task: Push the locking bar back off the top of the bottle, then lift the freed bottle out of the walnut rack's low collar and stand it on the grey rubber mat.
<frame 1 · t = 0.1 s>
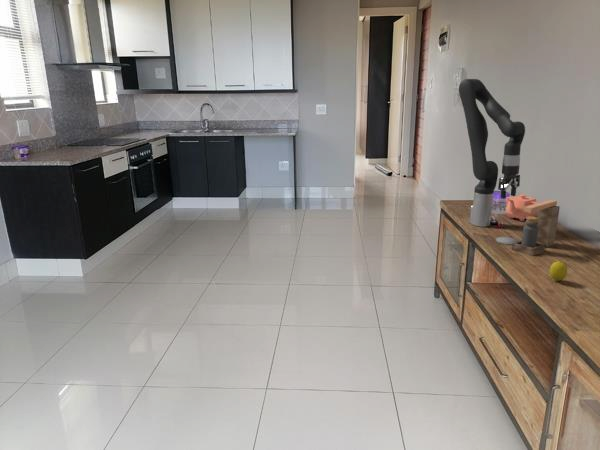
hand: (508, 197, 217), 17 cm above the sideboard, tool pointing down, fingers open, 8 cm apart
mat: (507, 241, 206), on the sideboard
lemon: (556, 281, 163), on the sideboard
locking bar: (540, 206, 192), point 19 cm above the sideboard, slide at 0.0 cm
rack: (527, 250, 194), on the sideboard
teapot: (519, 218, 242), on the sideboard
bottle: (527, 250, 194), resting in rack
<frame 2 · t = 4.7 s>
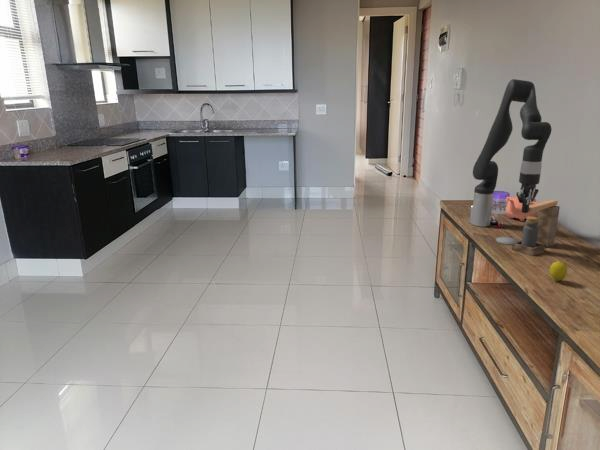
hand: (524, 212, 186), 18 cm above the sideboard, tool pointing down, fingers closed
locking bar: (541, 205, 192), point 19 cm above the sideboard, slide at 0.5 cm, touching gripper
everything else where it was.
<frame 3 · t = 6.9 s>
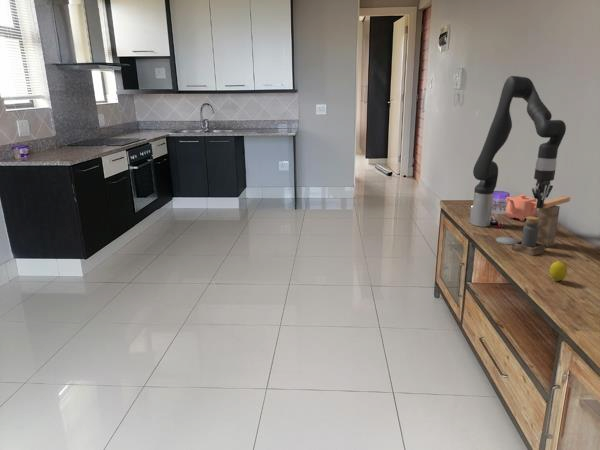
hand: (539, 208, 192), 18 cm above the sideboard, tool pointing down, fingers closed
locking bar: (554, 202, 198), point 19 cm above the sideboard, slide at 11.7 cm, touching gripper
everything else where it was.
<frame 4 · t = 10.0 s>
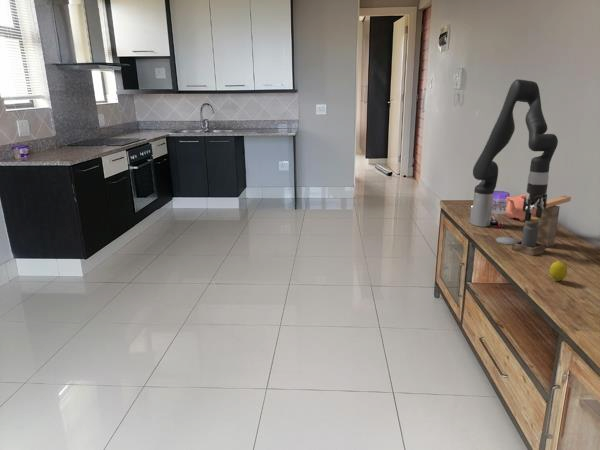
hand: (532, 219, 190), 14 cm above the sideboard, tool pointing down, fingers open, 8 cm apart
locking bar: (555, 201, 198), point 19 cm above the sideboard, slide at 12.3 cm
everything else where it was.
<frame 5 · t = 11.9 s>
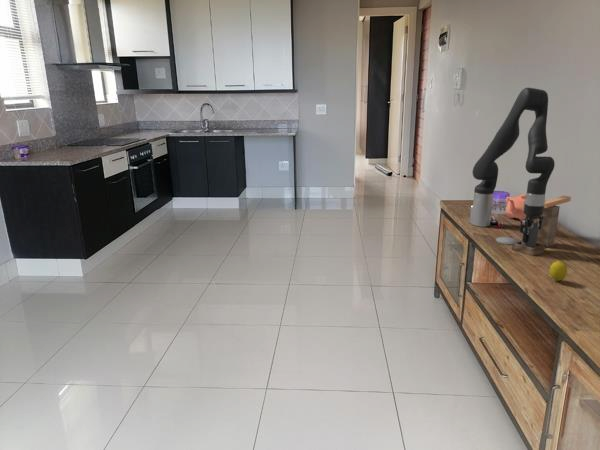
hand: (529, 240, 193), 5 cm above the sideboard, tool pointing down, fingers closed on bottle, 6 cm apart
bottle: (527, 250, 194), resting in rack, touching gripper
everything else where it was.
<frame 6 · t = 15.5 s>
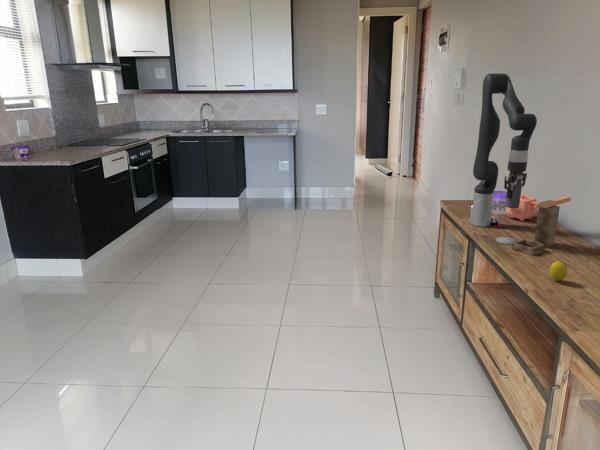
hand: (513, 197, 200), 21 cm above the sideboard, tool pointing down, fingers closed on bottle, 6 cm apart
bottle: (511, 207, 201), point 17 cm above the sideboard, touching gripper
everything else where it was.
when the fingers open (6 cm above the sideboard, at t = 19.3 s): bottle stays where it is, resting on mat.
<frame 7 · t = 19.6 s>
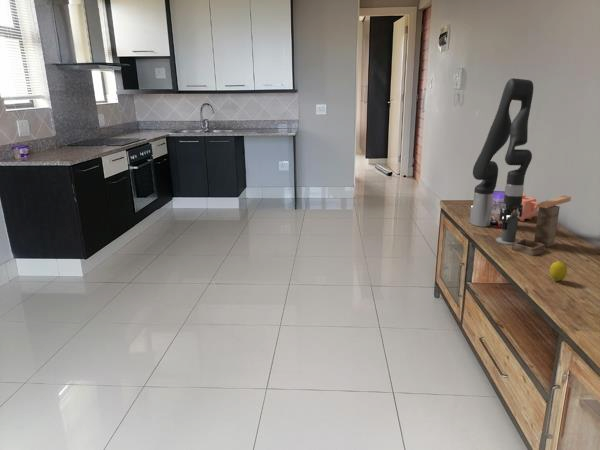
hand: (509, 228, 204), 7 cm above the sideboard, tool pointing down, fingers open, 8 cm apart
bottle: (508, 240, 206), resting on mat
everything else where it was.
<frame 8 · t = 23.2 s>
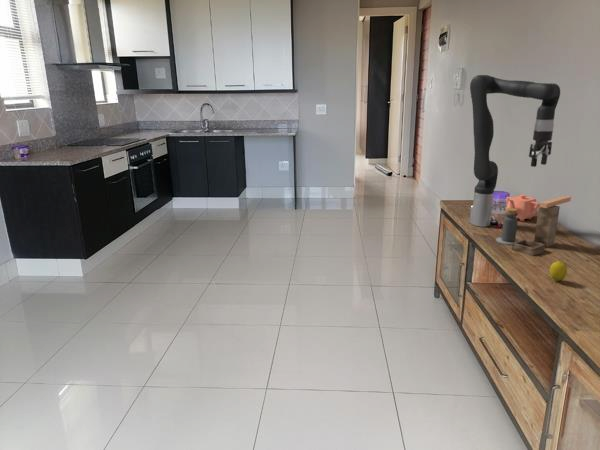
hand: (538, 165, 204), 34 cm above the sideboard, tool pointing down, fingers open, 8 cm apart
nothing on the sideboard moved.
at the end: locking bar slide at 12.3 cm; bottle inside the target area (0.3 cm from its centre), resting on mat; bottle tilted 0° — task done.
